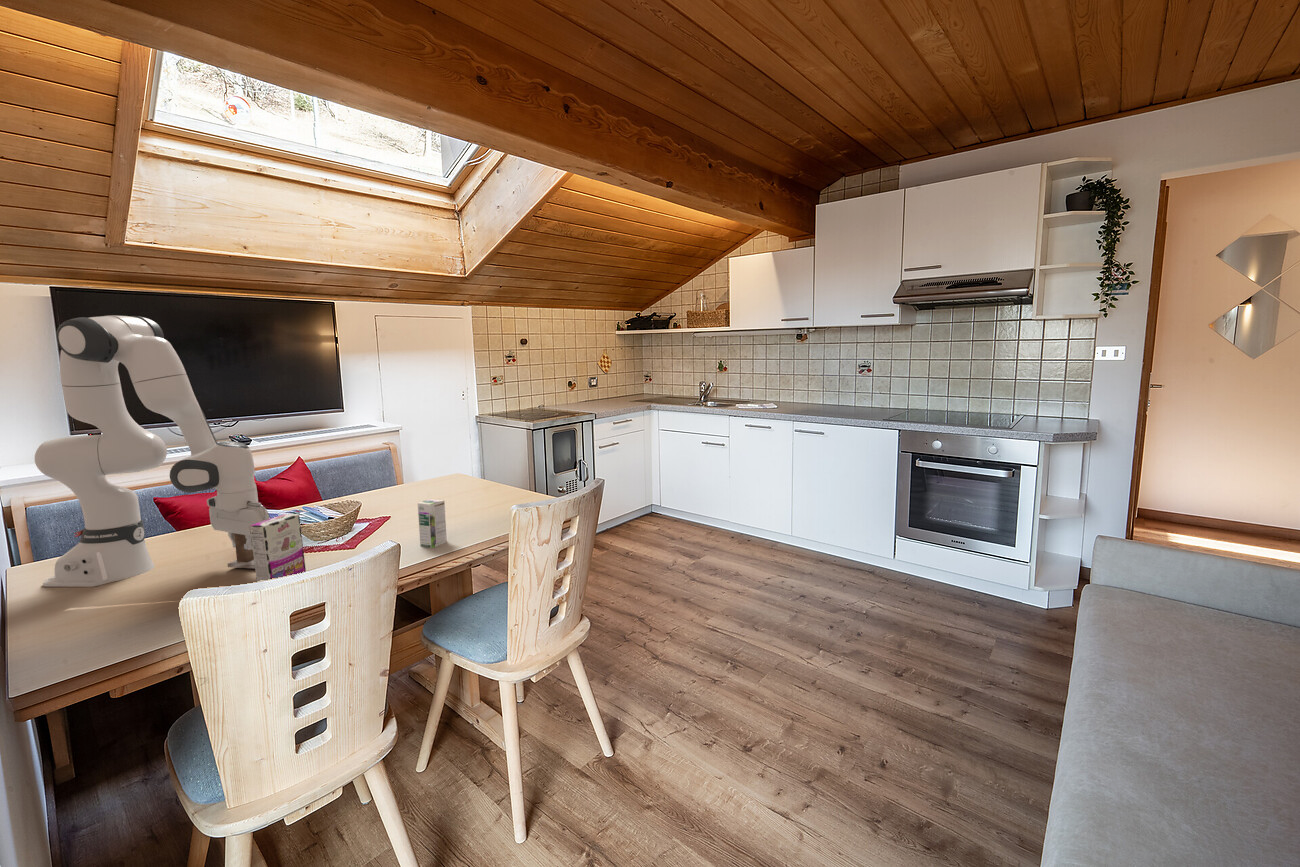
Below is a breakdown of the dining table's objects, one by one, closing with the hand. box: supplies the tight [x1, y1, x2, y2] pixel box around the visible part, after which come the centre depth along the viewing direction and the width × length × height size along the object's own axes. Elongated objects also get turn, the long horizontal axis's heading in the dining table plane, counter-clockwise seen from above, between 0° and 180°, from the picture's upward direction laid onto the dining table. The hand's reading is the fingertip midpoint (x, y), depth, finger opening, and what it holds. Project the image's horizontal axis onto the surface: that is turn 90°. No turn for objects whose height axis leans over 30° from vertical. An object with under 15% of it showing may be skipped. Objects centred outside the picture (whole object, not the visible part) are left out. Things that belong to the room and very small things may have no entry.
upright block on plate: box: [227, 533, 255, 569], centre depth 156 cm, size 14×6×10 cm, turn 84°
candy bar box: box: [249, 513, 307, 582], centre depth 147 cm, size 11×5×16 cm, turn 168°
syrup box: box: [417, 498, 448, 549], centre depth 171 cm, size 6×6×14 cm
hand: (243, 548), depth 156 cm, fingers closed on upright block on plate, 3 cm apart
